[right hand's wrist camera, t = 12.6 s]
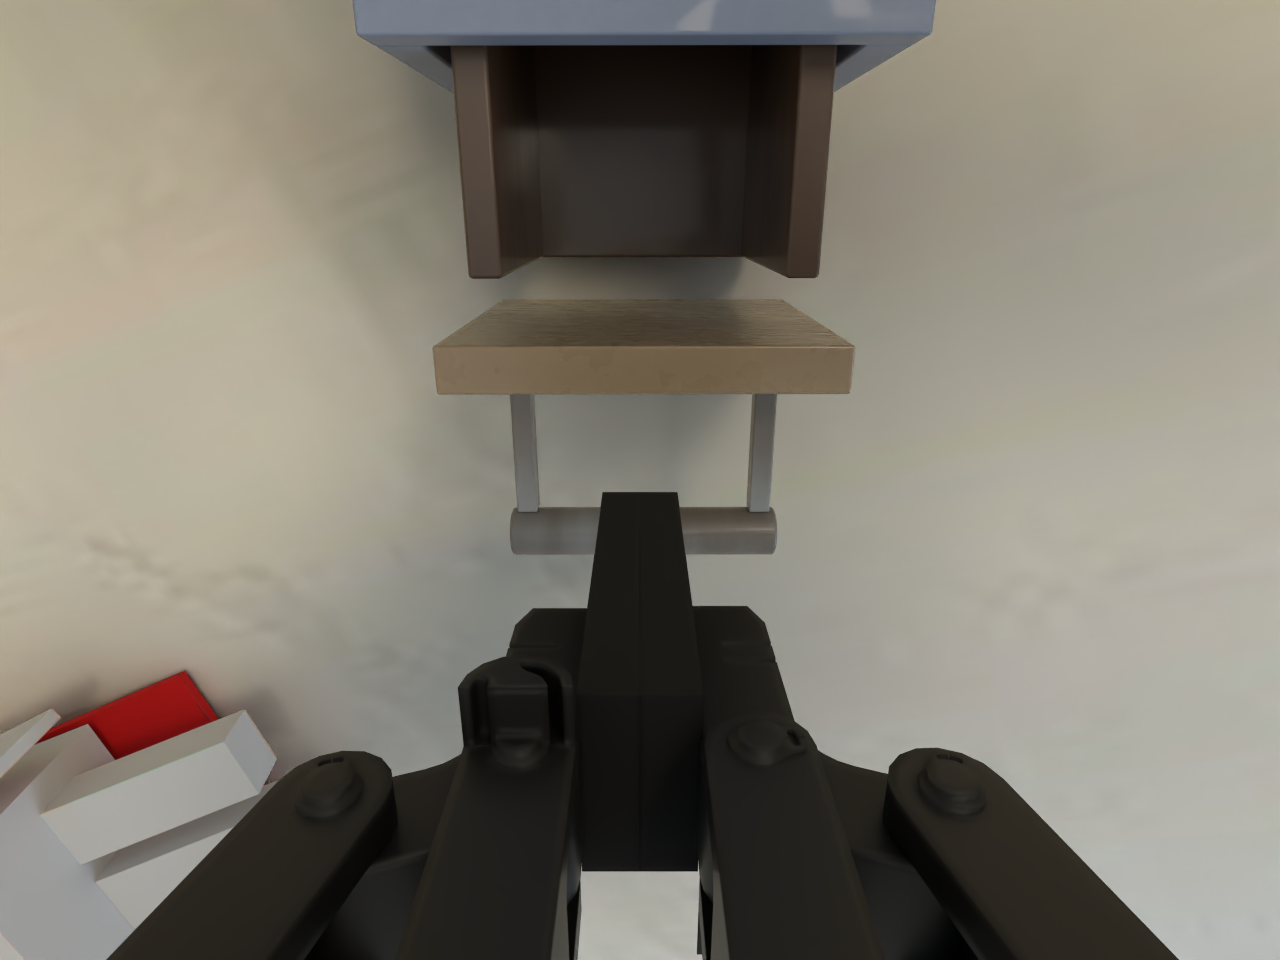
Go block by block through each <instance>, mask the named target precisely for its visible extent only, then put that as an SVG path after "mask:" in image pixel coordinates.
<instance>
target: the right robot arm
mask: <svg viewBox="0 0 1280 960" xmlns="http://www.w3.org/2000/svg"><path fill="white" fill-rule="evenodd" d="M458 694H459V703H460V713H461V723H462V733H463V743H464V747H463V750H462V753H461V754H460V755H459V756H457V757H455V758H453V759H451V760H449V761H447V762H445V763H443V764H440V765H437V766H434V767H431V768H428V769H424V770H420V771H416V772H412V773H407V774H403V775H399V776H395V777H392V772H391V769H390V768H389V766H388V765H387V764H386V763H385V762H384V761H383V759H382V758H380V757H378V756H375V755H372V754H370V753H367V752H364V751H340V752H336V753H331V754H327V755H322V756H319V757H316V758H314V759H312V760H310V761H308V762H306V763H304V764H301V765H299V766H297V767H296V768H294V769H293V770H292V771H291V772H289V773H288V774H287V775H286V776H284V777H283V778H282V779H280V780H279V781H278V782H277V783H276V784H275V785H274V786H273V787H272V788H271V789H270V790H269V791H268V792H267V793H266V794H265V795H264V796H263V797H262V798H261V799H260V801H259V802H258V803H257V804H256V805H255V806H254V807H253V808H252V809H251V810H250V811H249V812H248V813H247V814H246V815H245V816H244V817H243V818H242V819H241V820H240V821H239V822H238V823H237V824H236V825H235V826H234V827H233V829H232V830H231V831H230V832H229V833H228V834H227V835H226V836H225V837H224V838H223V839H222V840H221V841H220V842H219V843H218V844H217V845H216V846H215V847H214V848H213V849H212V850H211V851H210V852H209V853H208V854H207V855H206V857H205V858H204V859H203V860H202V861H201V862H200V863H199V864H198V865H197V866H196V867H195V868H194V869H193V870H192V871H191V872H190V873H189V874H188V875H187V876H186V877H185V878H184V879H183V880H182V881H181V882H180V883H179V885H178V886H177V887H176V888H175V889H174V890H173V891H172V892H171V893H170V894H169V895H168V896H167V897H166V898H165V899H164V900H163V901H162V902H161V903H160V904H159V905H158V906H157V907H156V908H155V909H154V910H153V912H152V913H151V914H150V915H149V916H148V917H147V918H146V919H145V920H144V921H143V922H142V923H141V924H140V925H139V926H138V927H137V928H136V929H135V930H134V931H133V932H132V933H131V934H130V935H129V936H128V937H127V938H126V940H125V941H124V942H123V943H122V944H121V945H120V946H119V947H118V948H117V949H116V950H115V951H114V952H113V953H112V954H111V955H110V956H109V957H108V958H107V959H106V960H577V958H578V945H579V933H580V921H581V887H580V876H581V865H582V871H698V861H699V873H700V887H699V913H698V940H697V954H702V957H703V960H1179V959H1178V958H1177V957H1176V956H1175V955H1174V954H1173V953H1172V952H1171V951H1170V950H1169V949H1168V948H1167V947H1166V946H1165V945H1164V944H1163V943H1162V942H1161V941H1160V940H1159V939H1158V938H1157V937H1156V936H1155V935H1154V934H1153V933H1152V932H1151V930H1150V929H1149V928H1148V927H1147V926H1146V925H1145V924H1144V923H1143V922H1142V921H1141V920H1140V919H1139V918H1138V917H1137V916H1136V915H1135V914H1134V913H1133V912H1132V911H1131V910H1130V909H1129V908H1128V907H1127V906H1126V905H1125V904H1124V903H1123V902H1122V901H1121V900H1120V899H1119V898H1118V896H1117V895H1116V894H1115V893H1114V892H1113V891H1112V890H1111V889H1110V888H1109V887H1108V886H1107V885H1106V884H1105V883H1104V882H1103V881H1102V880H1101V879H1100V878H1099V877H1098V876H1097V875H1096V874H1095V873H1094V872H1093V871H1092V870H1091V869H1090V868H1089V867H1088V866H1087V865H1086V864H1085V862H1084V861H1083V860H1082V859H1081V858H1080V857H1079V856H1078V855H1077V854H1076V853H1075V852H1074V851H1073V850H1072V849H1071V848H1070V847H1069V846H1068V845H1067V844H1066V843H1065V842H1064V841H1063V840H1062V839H1061V838H1060V837H1059V836H1058V835H1057V834H1056V833H1055V832H1054V831H1053V830H1052V828H1051V827H1050V826H1049V825H1048V824H1047V823H1046V822H1045V821H1044V820H1043V819H1042V818H1041V817H1040V816H1039V815H1038V814H1037V813H1036V812H1035V811H1034V810H1033V809H1032V808H1031V807H1030V806H1029V805H1028V804H1027V803H1026V802H1025V801H1024V800H1023V799H1022V798H1021V797H1020V796H1019V794H1018V793H1017V792H1016V791H1015V790H1014V789H1013V788H1012V787H1011V786H1010V785H1009V784H1008V783H1007V782H1006V781H1005V780H1004V779H1003V778H1002V777H1000V776H999V775H998V774H997V773H995V772H994V771H993V770H991V769H990V768H989V767H988V766H986V765H985V764H984V763H982V762H979V761H977V760H975V759H973V758H971V757H969V756H966V755H964V754H962V753H959V752H954V751H950V750H945V749H941V748H916V749H913V750H911V751H908V752H905V753H903V754H900V755H899V756H898V757H897V758H896V759H895V760H894V762H893V763H892V764H891V765H890V766H889V772H888V774H885V773H881V772H877V771H872V770H868V769H864V768H860V767H855V766H852V765H849V764H846V763H843V762H839V761H837V760H835V759H833V758H831V757H829V756H827V755H825V754H823V753H821V752H820V751H818V749H817V746H816V744H815V743H814V741H813V739H812V738H811V736H810V734H809V733H808V731H807V730H805V729H804V728H803V727H801V726H800V725H799V724H797V723H796V722H795V721H794V718H793V715H792V711H791V708H790V705H789V701H788V698H787V695H786V692H785V688H784V685H783V682H782V678H781V675H780V672H779V668H778V665H777V662H776V661H775V655H774V652H773V648H772V646H771V642H770V639H769V635H768V632H767V629H766V625H765V623H764V622H763V621H762V620H761V619H760V618H759V617H758V616H757V615H756V614H755V613H754V612H753V611H752V610H751V609H750V608H749V607H747V606H692V600H691V592H690V585H689V577H688V569H687V562H686V554H685V547H684V539H683V532H682V524H681V516H680V509H679V501H678V494H677V492H603V494H602V501H601V509H600V516H599V524H598V532H597V539H596V547H595V554H594V562H593V569H592V577H591V585H590V592H589V600H588V607H587V608H533V609H532V610H531V611H530V612H529V613H528V614H527V615H526V616H524V617H523V618H522V619H521V620H520V621H519V622H518V623H517V624H516V625H515V628H514V631H513V635H512V638H511V641H510V648H508V651H507V655H506V657H501V658H499V659H496V660H493V661H490V662H487V663H484V664H482V665H480V666H479V667H477V668H476V669H474V670H473V671H471V672H470V673H469V674H467V675H466V677H465V678H464V680H463V681H462V682H461V684H460V685H459V687H458Z"/></svg>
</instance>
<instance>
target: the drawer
mask: <svg viewBox="0 0 1280 960" xmlns="http://www.w3.org/2000/svg"><path fill="white" fill-rule="evenodd" d="M450 47H451V60H452V72H453V85H454V98H455V110H456V123H457V135H458V148H459V160H460V173H461V186H462V198H463V211H464V223H465V236H466V248H467V261H468V273H469V277H470V278H473V279H488V278H501V277H503V276H505V275H507V274H509V273H511V272H513V271H515V270H517V269H519V268H521V267H523V266H525V265H527V264H529V263H531V262H533V261H535V260H537V259H539V258H541V257H745V258H747V259H749V260H751V261H753V262H756V263H758V264H760V265H762V266H764V267H766V268H768V269H771V270H773V271H775V272H777V273H779V274H781V275H783V276H786V277H788V278H816V277H818V275H819V267H820V254H821V242H822V229H823V217H824V204H825V192H826V179H827V167H828V154H829V142H830V129H831V117H832V104H833V92H834V79H835V67H836V54H837V45H450ZM854 353H855V346H854V345H852V344H851V343H849V342H848V341H846V340H845V339H843V338H841V337H840V336H838V335H837V334H835V333H834V332H832V331H831V330H829V329H827V328H826V327H824V326H823V325H821V324H820V323H818V322H816V321H815V320H813V319H812V318H810V317H809V316H807V315H806V314H804V313H802V312H801V311H799V310H798V309H796V308H795V307H793V306H791V305H790V304H788V303H787V302H785V301H784V300H502V301H501V302H499V303H498V304H496V305H495V306H493V307H492V308H490V309H489V310H487V311H486V312H484V313H483V314H481V315H480V316H478V317H477V318H475V319H474V320H472V321H471V322H469V323H468V324H466V325H465V326H463V327H462V328H460V329H459V330H457V331H456V332H454V333H453V334H451V335H450V336H448V337H447V338H445V339H444V340H442V341H441V342H439V343H438V344H436V345H435V346H433V357H434V367H435V377H436V387H437V393H438V394H510V401H511V416H512V432H513V447H514V463H515V479H516V494H517V507H516V508H514V509H513V512H512V515H511V521H510V543H511V549H512V552H513V553H514V554H516V555H594V554H595V547H596V539H597V532H598V524H599V516H600V509H601V507H539V505H540V497H539V478H538V459H537V440H536V421H535V402H534V394H752V412H751V431H750V450H749V469H748V488H747V506H748V507H679V509H680V516H681V524H682V532H683V539H684V547H685V554H773V553H774V551H775V548H776V542H777V522H776V515H775V512H774V509H773V508H771V507H770V493H771V477H772V462H773V446H774V431H775V415H776V400H777V394H849V393H850V392H851V383H852V373H853V363H854Z"/></svg>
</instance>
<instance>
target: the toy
mask: <svg viewBox="0 0 1280 960" xmlns="http://www.w3.org/2000/svg"><path fill="white" fill-rule="evenodd" d="M60 719H61V717H60V716H59V715H58V714H57V713H56V712H55V711H54V710H53V709H52V708H51V709H49V710H47V711H45V712H43V713H41V714H39V715H37V716H35V717H33V718H31V719H29V720H27V721H26V722H24V723H22V724H20V725H18V726H16V727H14V728H12V729H10V730H8V731H6V732H4V733H2V734H0V960H106V959H107V958H108V957H109V956H110V955H111V954H112V953H113V952H114V951H115V950H116V949H117V948H118V947H119V946H120V945H121V944H122V943H123V942H124V941H125V940H126V938H127V937H128V936H129V935H130V934H131V933H132V932H133V931H134V930H135V929H136V928H137V927H138V926H139V925H140V924H141V923H142V922H143V921H144V920H145V919H146V918H147V917H148V916H149V915H150V914H151V913H152V912H153V910H154V909H155V908H156V907H157V906H158V905H159V904H160V903H161V902H162V901H163V900H164V899H165V898H166V897H167V896H168V895H169V894H170V893H171V892H172V891H173V890H174V889H175V888H176V887H177V886H178V885H179V883H180V882H181V881H182V880H183V879H184V878H185V877H186V876H187V875H188V874H189V873H190V872H191V871H192V870H193V869H194V868H195V867H196V866H197V865H198V864H199V863H200V862H201V861H202V860H203V859H204V858H205V857H206V855H207V854H208V853H209V852H210V851H211V850H212V849H213V848H214V847H215V846H216V845H217V844H218V843H219V842H220V841H221V840H222V839H223V838H224V837H225V836H226V835H227V834H228V833H229V832H230V831H231V830H232V829H233V827H234V826H235V825H236V824H237V823H238V822H239V821H240V820H241V819H242V818H243V817H244V816H245V815H246V814H247V813H248V812H249V811H250V810H251V809H252V808H253V807H254V806H255V805H256V804H257V803H258V802H259V801H260V799H261V798H262V797H263V796H264V795H265V794H266V793H267V792H268V791H269V790H270V789H271V788H272V787H273V786H274V785H275V784H276V783H277V782H278V781H279V780H280V779H279V780H277V781H274V782H272V783H269V784H267V785H266V784H265V781H266V780H267V778H268V776H269V774H270V772H271V770H272V768H273V766H274V764H275V762H276V760H277V757H276V756H275V754H274V753H273V751H272V750H271V748H270V747H269V745H268V744H267V742H266V741H265V739H264V737H263V736H262V734H261V733H260V731H259V730H258V728H257V727H256V725H255V724H254V722H253V721H252V719H251V718H250V716H249V715H248V713H247V712H246V710H245V709H243V710H241V711H238V712H236V713H233V714H231V715H228V716H226V717H223V718H221V719H219V718H218V717H217V716H216V714H215V713H214V711H213V710H212V709H211V707H210V706H209V704H208V703H207V702H206V700H205V699H204V697H203V696H202V695H201V693H200V692H199V690H198V689H197V688H196V686H195V685H194V683H193V682H192V681H191V679H190V678H189V676H188V675H187V674H186V672H185V671H183V672H181V673H178V674H176V675H174V676H171V677H169V678H167V679H164V680H162V681H160V682H157V683H155V684H153V685H150V686H148V687H146V688H143V689H141V690H139V691H136V692H134V693H132V694H129V695H127V696H125V697H122V698H120V699H118V700H115V701H113V702H111V703H108V704H106V705H104V706H102V707H99V708H97V709H95V710H92V711H90V712H88V713H85V714H83V715H81V716H78V717H76V718H74V719H71V720H69V721H67V722H64V723H62V724H60V725H57V726H55V727H53V726H54V725H55V724H56V723H57V722H58V721H59V720H60ZM52 727H53V728H52Z"/></svg>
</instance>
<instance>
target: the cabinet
mask: <svg viewBox="0 0 1280 960" xmlns="http://www.w3.org/2000/svg"><path fill="white" fill-rule="evenodd" d="M935 2H936V0H353V8H354V17H355V25H356V32H357V35H359V36H360V37H362V38H363V39H365V40H367V41H368V42H370V43H372V44H373V45H375V46H377V47H379V48H381V49H382V50H384V51H385V52H387V53H389V54H390V55H392V56H394V57H395V58H397V59H398V60H400V61H402V62H403V63H405V64H407V65H408V66H410V67H411V68H413V69H415V70H416V71H418V72H419V73H421V74H423V75H424V76H426V77H428V78H429V79H431V80H432V81H434V82H436V83H437V84H439V85H441V86H442V87H444V88H445V89H447V90H449V91H450V92H452V93H454V85H453V72H452V60H451V47H450V45H837V54H836V67H835V79H834V92H835V91H836V90H838V89H840V88H841V87H843V86H845V85H846V84H848V83H850V82H851V81H853V80H855V79H856V78H858V77H860V76H861V75H863V74H865V73H866V72H868V71H870V70H871V69H873V68H875V67H876V66H878V65H880V64H881V63H883V62H885V61H886V60H888V59H890V58H891V57H893V56H895V55H896V54H898V53H899V52H901V51H903V50H904V49H906V48H908V47H909V46H911V45H913V44H915V43H916V42H918V41H920V40H921V39H923V38H925V37H926V36H928V35H930V34H931V32H932V27H933V19H934V10H935Z"/></svg>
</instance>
